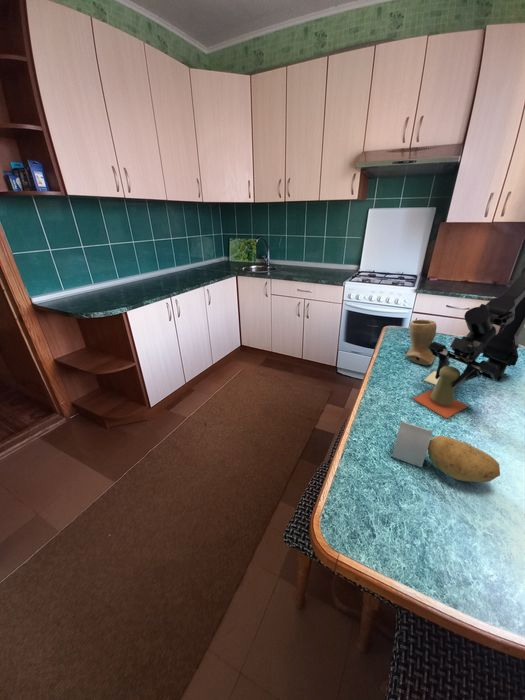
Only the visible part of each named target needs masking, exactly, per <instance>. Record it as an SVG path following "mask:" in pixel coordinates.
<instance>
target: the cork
mask: <svg viewBox="0 0 525 700" xmlns="http://www.w3.org/2000/svg"><path fill="white" fill-rule="evenodd" d="M439 375H440V378H439V380H438V382H437V384H436V385H434V387H433V388H434V390H433V392H432V394H431V399H432V400H433V401H435V402H437V403H439V404H443V405H449V404H451V403H452V402H453V398H454V394H455V387H453V386H452V385H453V384H454V382H455V381H456V380H457V379H458V377H459V376H460V375H461V372H460V370H459V369H458V368H456V367H454V366H450V365H449V366H444V367H442V368H441V369H440V372H439Z"/></svg>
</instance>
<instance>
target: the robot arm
mask: <svg viewBox="0 0 525 700" xmlns="http://www.w3.org/2000/svg"><path fill="white" fill-rule="evenodd" d="M463 318H464V321H465V323H466V327H467V329H468V331H469V332H468V333H467V335H463V336H462V337H461V338H459V337H457V336H453V338H452V339H451V341H450V343H449V345H448V347H449V348H451V350H452V351H451V350H448V348H447V346H446V345H445V344H443V343H440V342H437V341H432V343H431V344H430V345H429V346H428V348H429V350H430V351H431V353H432V354H433V355H434V356H435V358H436V357H437V358H438V364H437V365H438V366H437V369H436V372H437V373H436V376H435V378H436V379H438V378H439V377H440V375H439V372H440V369H441V368H442V367H444V366H450V364H451V362H450V361H449V360H454V361H456V362H458V363H461V364H463V365H465V368H464V370H463V372H462V373H460V376H459V377H458V379H457V380H456V381H455V382H454V384H453V385H452V386H453V387H456V388H457V387H458V386H460V385H462V384H464V383H466V382H468V381H470V380H473V379H475V378H479V379H481V378H482V377H484V378H486V379H488V380H491V381H493V382H494V381H498V382H499V381H502V379H504V378H505V377H507V376H508V373H505V372H506V370H507V367H511V366H513V367H515V366H516V364H517V362H518V359H519V351H518V349H519V347H520V344H519V338H518V337H519V335H520V333H521V332H522V330H523V328H524V327H525V266H524V268H523V269H522V270H521V272H520V274H519V275H518V276H517V278H515V280H514V281H513V282H512V283H511V284H510V285H509V286H508V287H507V288H506V289H505V291H504V292H503V293H502V294H501V295H500V296H497V297H495V298H492V299H490V300H488V301H487V303H486V304H485V303H481V304H480V305H479V306H475V307H472V308H470V309H469V310H466V311H465V313H464V317H463ZM495 326H497V327H503V328H502V330H501V331H500V332H497V329H496V327H495ZM481 354H482V358H486V359H487V360H484V359H482V360H481V361H480V362H478V361H476V360H477V359H478V358H479V356H480V355H481Z"/></svg>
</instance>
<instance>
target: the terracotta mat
mask: <svg viewBox="0 0 525 700" xmlns="http://www.w3.org/2000/svg"><path fill="white" fill-rule="evenodd" d="M434 388H435V387H433V388H431V389H429V390H427V391H425V392H423V393H422V394H419V395H417V396H415V397H413V398H412V400H413V401H415V402H416V403H418V404H420V405H422V406H423V407H425V408H427V409H428V410H430V411H431V412H433V413H435V414H437V415H439V416H440V417H442V418H443V419H446V420H447V419H449V418H451V417H453V416H454V415H456V414H457V413H459V412H461V411H463V410H465V409H467V408H468V405H467V404H466V403H463V402H461V401H460V400H458V399H455V398H454V397H453V402H452V403H451V404H449V405H443V404H439V403H437V402H435V401H433V400H432V399H431V394H432V392H433V390H434Z"/></svg>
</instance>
